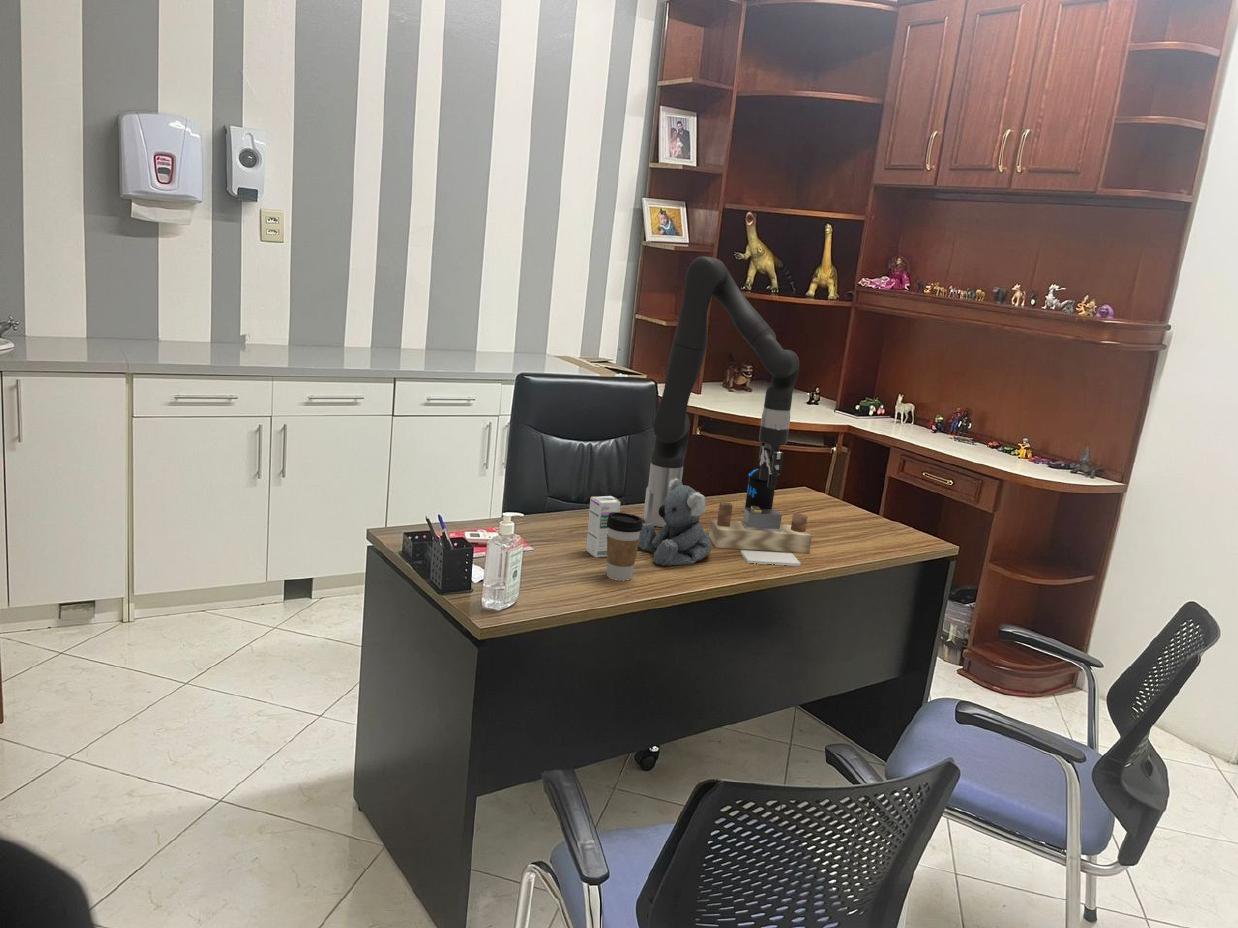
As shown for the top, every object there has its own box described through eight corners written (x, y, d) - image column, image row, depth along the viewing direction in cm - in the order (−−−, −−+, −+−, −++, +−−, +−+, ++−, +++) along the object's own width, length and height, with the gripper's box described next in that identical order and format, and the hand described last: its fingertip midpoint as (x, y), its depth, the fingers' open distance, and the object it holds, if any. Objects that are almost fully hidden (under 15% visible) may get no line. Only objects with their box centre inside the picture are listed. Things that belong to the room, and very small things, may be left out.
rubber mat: (747, 563, 245) (748, 560, 244) (740, 553, 252) (740, 550, 252) (800, 566, 246) (800, 563, 246) (791, 556, 254) (791, 553, 254)
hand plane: (715, 547, 255) (720, 508, 252) (708, 536, 264) (713, 498, 261) (809, 553, 258) (815, 514, 256) (799, 542, 267) (805, 504, 264)
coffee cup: (600, 569, 229) (606, 509, 226) (635, 571, 230) (641, 512, 227) (602, 581, 221) (608, 520, 218) (638, 584, 222) (645, 522, 218)
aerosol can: (769, 526, 279) (778, 460, 275) (770, 534, 271) (780, 466, 267) (741, 523, 280) (749, 457, 275) (741, 531, 272) (750, 463, 267)
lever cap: (747, 527, 257) (749, 510, 255) (743, 521, 261) (745, 504, 260) (779, 529, 258) (782, 512, 257) (774, 523, 263) (777, 506, 261)
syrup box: (595, 558, 237) (600, 502, 233) (585, 550, 242) (590, 495, 238) (615, 556, 239) (621, 501, 236) (605, 549, 244) (610, 494, 241)
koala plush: (631, 545, 249) (639, 473, 245) (693, 543, 256) (701, 473, 252) (658, 568, 234) (667, 492, 229) (723, 566, 241) (733, 491, 236)
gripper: (754, 419, 260) (747, 476, 263) (768, 429, 246) (760, 490, 250) (781, 420, 261) (773, 478, 264) (796, 431, 247) (788, 491, 251)
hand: (767, 484), depth 257 cm, fingers open, 8 cm apart
